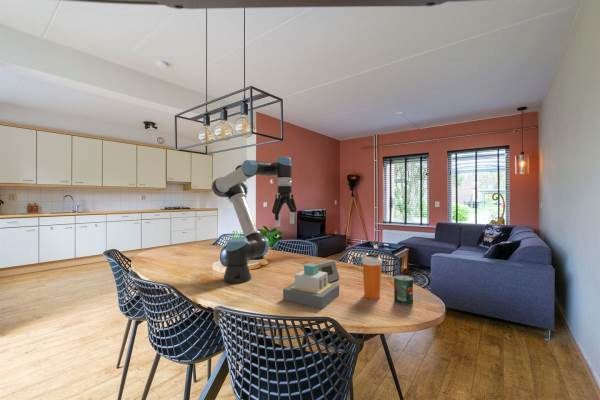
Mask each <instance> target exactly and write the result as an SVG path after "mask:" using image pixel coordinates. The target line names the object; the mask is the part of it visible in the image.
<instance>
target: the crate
mask: <svg viewBox="0 0 600 400" xmlns="http://www.w3.org/2000/svg"><path fill="white" fill-rule="evenodd" d="M303 270H304V274H307V275H313V276H314V275H315V274H317V273H319V263H312V262H309V263H305V264H304V265H303Z"/></svg>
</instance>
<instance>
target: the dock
mask: <svg viewBox="0 0 600 400" xmlns="http://www.w3.org/2000/svg"><path fill="white" fill-rule="evenodd" d="M319 289H320V288H319ZM339 296H340V284H337V283H333V282H330V283H328V285H327V286H324V288H323V289H320V291H319V292H316V291H311V290H306V289H301V288H296V287H295V282H294V283H292V284H290V285H288V286H286V287H284V288H282V300H283V301H287V302H291V303H295V304H299V305H303V306H308V307H313V308H317V309H320V310H323V309H324V308H326V306H328V305H329V304H331V302H333V301H334V300H335V299H336V298H338V297H339Z"/></svg>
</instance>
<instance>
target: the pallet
mask: <svg viewBox="0 0 600 400" xmlns="http://www.w3.org/2000/svg"><path fill="white" fill-rule="evenodd" d="M294 283H295V287H296V288H301V289H306V290H311V291H316V292H319V291H320V289H323V288H324V286H327V285H328V273H327V272H321V271H319V273H317V274H315V275H314V276H313V275H307V274H304V269H303V270H301V271H299V272H297V273H295V274H294ZM319 288H320V289H319Z"/></svg>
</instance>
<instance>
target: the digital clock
mask: <svg viewBox="0 0 600 400" xmlns="http://www.w3.org/2000/svg"><path fill="white" fill-rule="evenodd" d="M318 264H319V271H321V272H327V273H328V283H333V282H335V281H337V280H340V274H339V270H338V267H337V263H336V261H335V260H334V259H332V260H326V261H323V262H319V263H318Z"/></svg>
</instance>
